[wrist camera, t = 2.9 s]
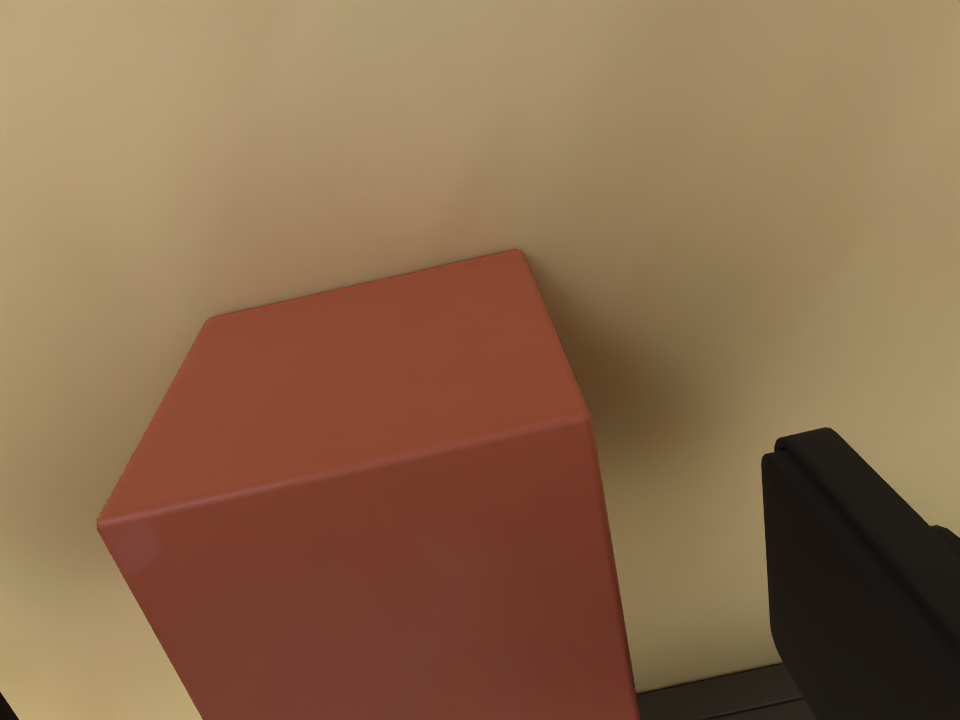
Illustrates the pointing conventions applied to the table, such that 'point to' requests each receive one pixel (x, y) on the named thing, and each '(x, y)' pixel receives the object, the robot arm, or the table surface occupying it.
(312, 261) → the table surface
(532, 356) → the block
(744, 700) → the case
